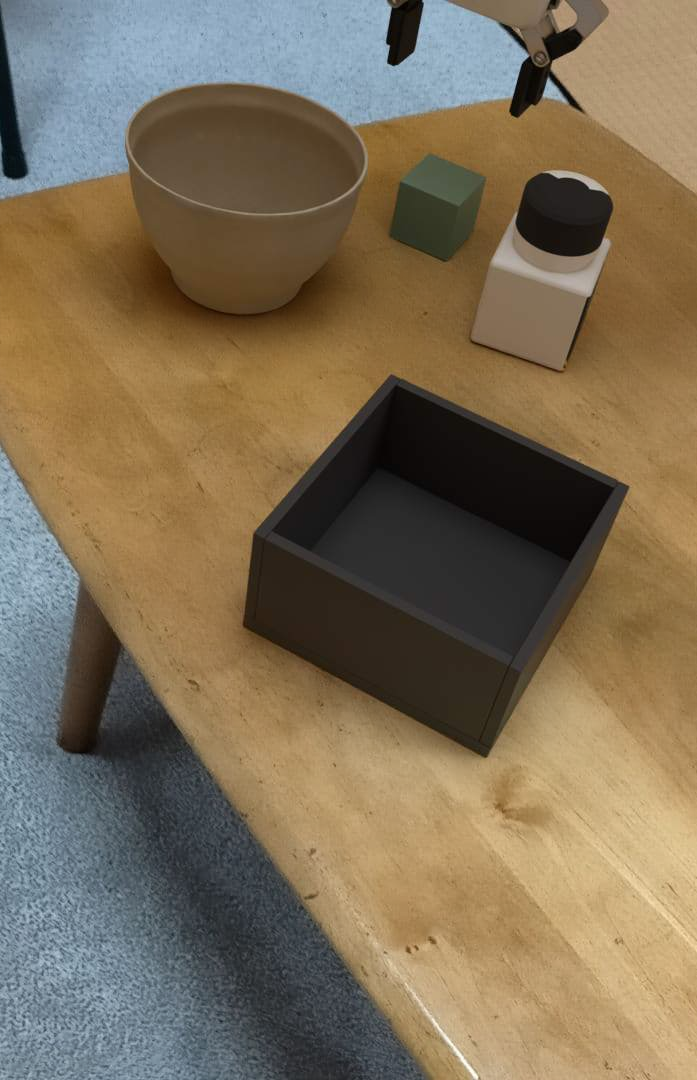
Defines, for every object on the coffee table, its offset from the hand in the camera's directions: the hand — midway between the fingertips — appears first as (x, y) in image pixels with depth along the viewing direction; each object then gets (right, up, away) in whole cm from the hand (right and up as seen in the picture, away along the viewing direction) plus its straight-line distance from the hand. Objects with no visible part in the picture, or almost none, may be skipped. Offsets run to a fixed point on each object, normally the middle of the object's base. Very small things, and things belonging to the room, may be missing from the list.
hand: (460, 83), depth 87 cm
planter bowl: (-16, -13, +3) cm, 21 cm away
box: (-1, -8, +9) cm, 13 cm away
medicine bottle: (+5, -17, +3) cm, 18 cm away
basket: (-3, -36, -15) cm, 39 cm away
